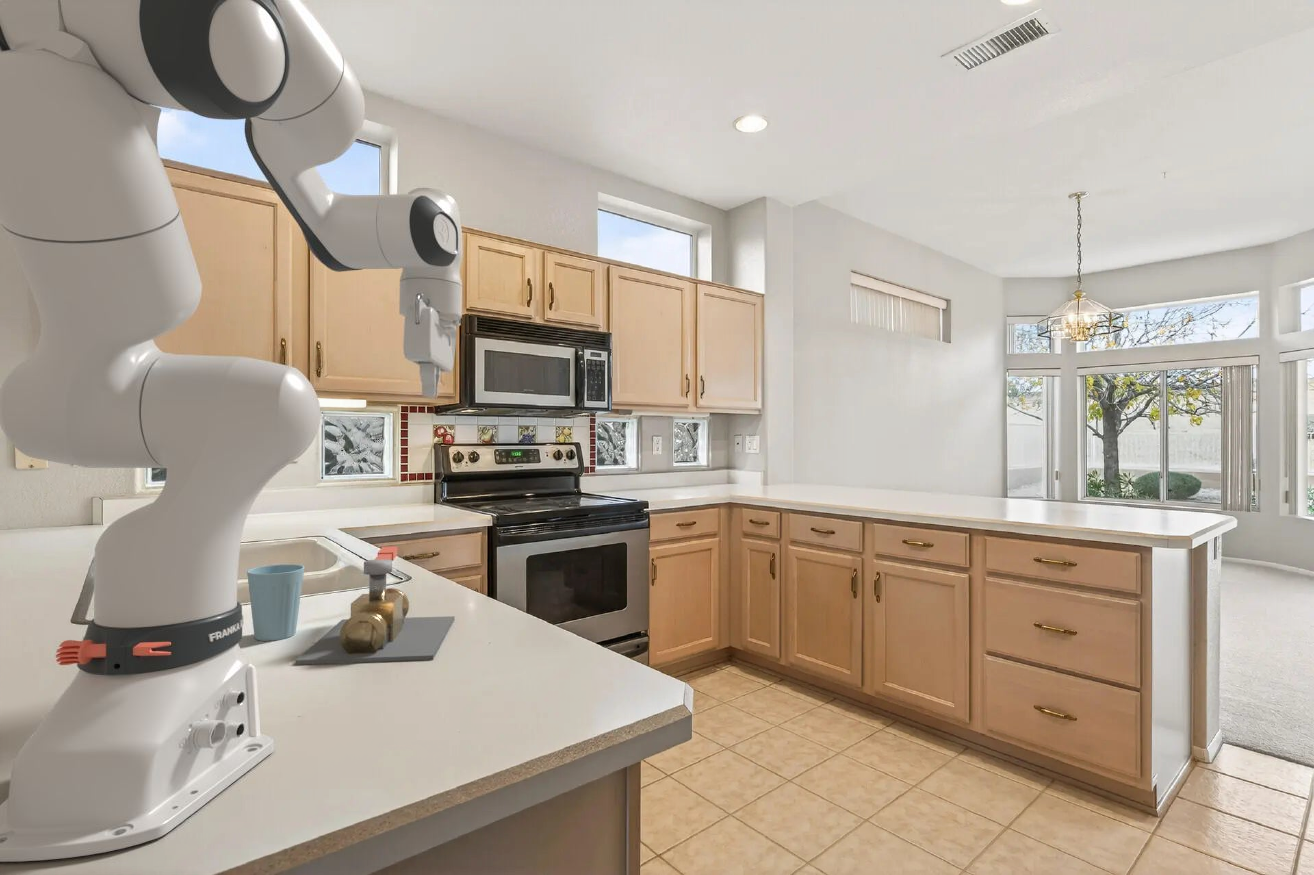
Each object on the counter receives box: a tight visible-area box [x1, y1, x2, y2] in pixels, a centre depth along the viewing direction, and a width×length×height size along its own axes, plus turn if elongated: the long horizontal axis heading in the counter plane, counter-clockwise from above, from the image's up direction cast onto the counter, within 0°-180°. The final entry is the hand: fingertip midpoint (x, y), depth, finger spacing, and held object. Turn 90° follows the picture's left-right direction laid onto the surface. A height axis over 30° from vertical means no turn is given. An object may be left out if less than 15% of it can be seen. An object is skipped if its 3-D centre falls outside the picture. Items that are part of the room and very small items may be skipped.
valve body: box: [340, 574, 410, 654], centre depth 100 cm, size 16×6×10 cm, turn 9°
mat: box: [294, 616, 455, 666], centre depth 100 cm, size 20×18×1 cm
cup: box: [246, 563, 305, 642], centre depth 101 cm, size 8×8×10 cm
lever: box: [363, 545, 398, 576], centre depth 106 cm, size 16×4×2 cm, turn 16°
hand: (430, 397), depth 97 cm, fingers closed
